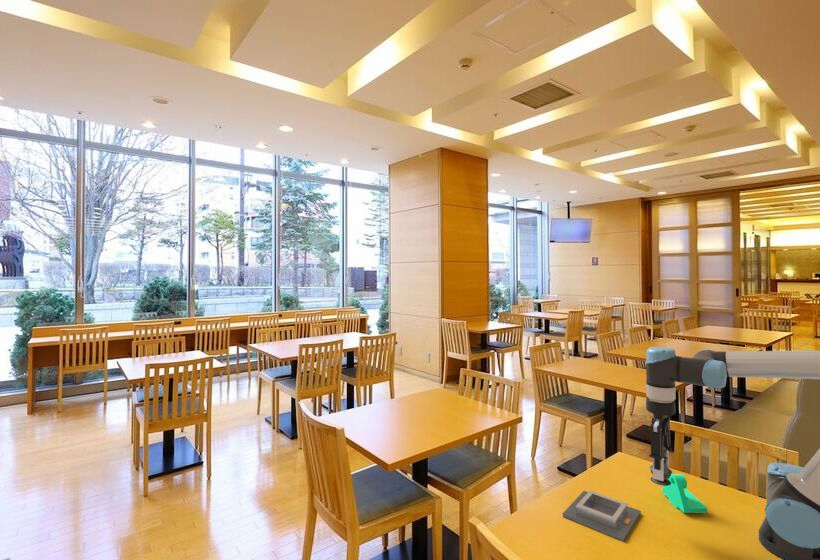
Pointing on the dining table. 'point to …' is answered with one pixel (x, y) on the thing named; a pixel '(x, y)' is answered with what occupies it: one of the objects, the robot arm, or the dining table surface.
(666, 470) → the gray metallic stepped cylinder
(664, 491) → the camera mount
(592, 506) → the plate
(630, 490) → the dining table surface
